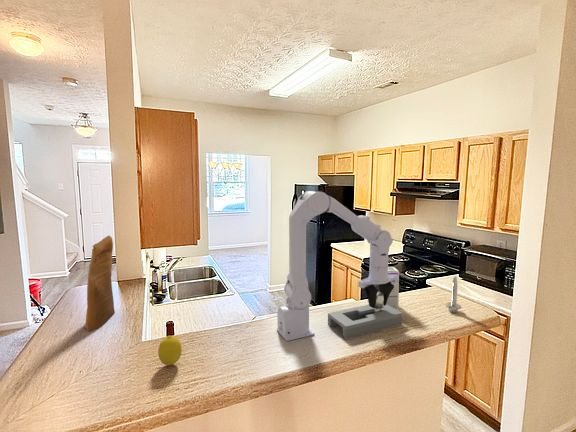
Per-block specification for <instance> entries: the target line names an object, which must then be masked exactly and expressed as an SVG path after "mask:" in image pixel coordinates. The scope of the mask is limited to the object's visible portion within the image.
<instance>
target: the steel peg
mask: <svg viewBox="0 0 576 432" xmlns="http://www.w3.org/2000/svg"><path fill="white" fill-rule="evenodd" d="M382 308H384V294H383V293H381V292H379V291H378V292H377V296H376V305H375V313H378V312H380V309H382ZM373 314H374V313H373Z"/></svg>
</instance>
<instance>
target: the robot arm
mask: <svg viewBox="0 0 576 432" xmlns="http://www.w3.org/2000/svg"><path fill="white" fill-rule="evenodd" d="M323 213H332V214H334V215H336V216H337V217H338V218H340V219H342V220H343V221H345V222H347V223H348V224H350V227H351V230H352V231H353V232H354V233H355V234H357V235H358V236H360V237H362V238H363V239H364V240H366V241H367V243H368V244H369V271H368V273H369V275H368V277H366V278H363V279H361V280H358V283H357V287H359V288H361V289H363V290H364V293H365V295H366V298H367V301H368V302H367V303H368V305H369V306H370V307H372V308H375V305H376V296H377V292H379V291H380V292H381V293H383V294H384V306H385V305H386V303H387V300H388V297H389V295H390V293H391V291H392V290H393V288H394V285H393V284H391V282H397V276H395V275H388V267H389V252H390V246H392V244H393V241H394V239H393V238H392V235H391V233H390V232H389V231H388V230H385V229H382V228H381V225H380V224H378V223H377V224H376V223H374V222H373V221H372V220H370V219H371V217H370V216H368V215H361V214H360V215H357V214H356V213H354V212H353V211H351V210H350V209H349V208H348V207H347V206H345V205H343V204H342V203H340V202H339V201H338V200H337V199H335V198H334V197H332V196H330V195H328V194H326V192H323V191H314V190H307V191H305V192H303V193H302V194H301V195H300V196H299V197H298V198H297V201H296V204H295V205H294V207H293V209H291V212H290V214H289V219H288V223H289V224H288V236H289V237H288V239H289V241H288V243H289V245H288V247H289V248H288V249H289V251H288V252H289V253H288V255H289V256H288V257H289V260H288V264H289V267H288V268H289V271H288V274H287V276H286V283H285V285H284V288H283V289H284V293H285V295H286V296H287V298H286V300H285V304H284V305H282V306H279V307H278V308H277V314H276V315H277V319H276V320H277V327H276V330H277V332H278V333H279V334H280V335H281V336H282V338H283V339H284V340H285V341H287V342H289V341H293V340H297V339H302V338H306V337H310V336H314V335H315V332H314V331H313V330H312V329H311V328H310V304H311V302H312V293H311V292H310V288H309V282H308V278H307V224H308V223H309V222H310V221H311V220H312V219H313V218H314V217H316V216H319V215H321V214H323ZM376 286H378V288H376Z"/></svg>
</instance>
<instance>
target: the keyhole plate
mask: <svg viewBox="0 0 576 432" xmlns="http://www.w3.org/2000/svg"><path fill="white" fill-rule="evenodd" d="M373 313H374V314H373ZM403 314H404V312H401V311H400V310H399V309H398V310H396V309H394V308H392V307H390V306H389V305H387V304H386V305H385V306H384V308H382V309H380V312H378V313H375V308H372V307H370V306H369V304H365V305H359V306H356V307H349V308H346V309H342V310H337V311H331V312H328V313H327V326H328V327H330V328H332V327H335V326H340V327H342V338H344V339H345V340H347V339H352V338H355V337H360V336H364V335H368V334H371V333H376V332H379V331H383V330H386V329H391V328H394V327H397V326H398V327H399V326H402V325H403Z"/></svg>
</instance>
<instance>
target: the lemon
mask: <svg viewBox="0 0 576 432" xmlns="http://www.w3.org/2000/svg"><path fill="white" fill-rule="evenodd" d="M158 346H159V347H158V351H157V353H158V358H159V361H160V362H161V363H162V364H164V365H166V366H169V365H172V366H173V365H174V364H176V363H178V361H179V360H180V358H181V356H182V348H183V347H182V344H181V341H180V339H179V338H178V337H177V336H173V335H167V336H166V337H165V338H163V339H162V340H160V343H159V345H158Z"/></svg>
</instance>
